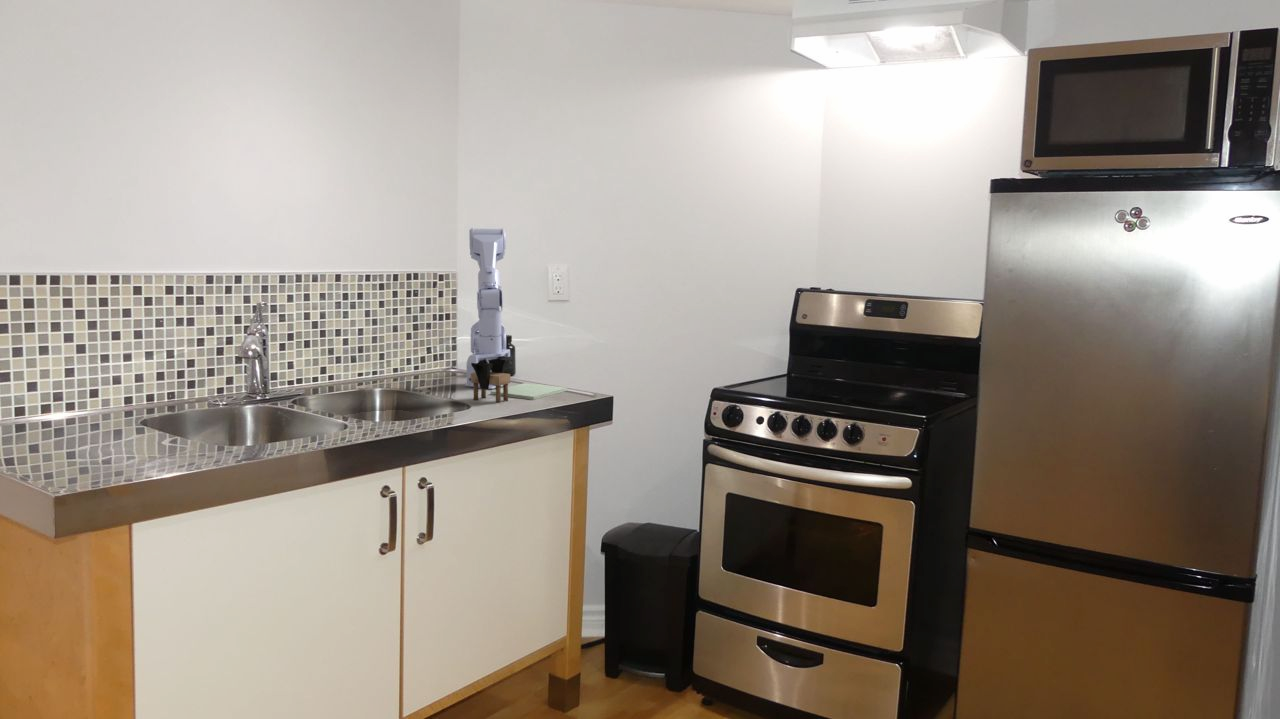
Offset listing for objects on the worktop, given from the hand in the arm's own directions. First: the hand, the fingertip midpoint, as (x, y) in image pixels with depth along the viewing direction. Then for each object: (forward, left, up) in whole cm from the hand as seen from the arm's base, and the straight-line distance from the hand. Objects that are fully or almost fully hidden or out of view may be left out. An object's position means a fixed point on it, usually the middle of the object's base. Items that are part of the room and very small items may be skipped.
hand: (490, 387), depth 251 cm
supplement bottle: (-21, +34, -4) cm, 40 cm away
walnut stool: (0, 0, -3) cm, 3 cm away
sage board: (+2, +15, -3) cm, 15 cm away
